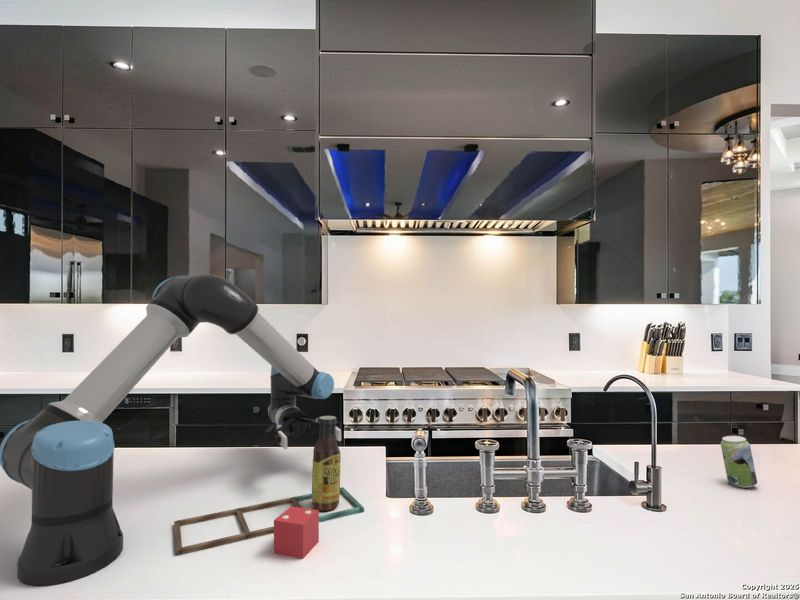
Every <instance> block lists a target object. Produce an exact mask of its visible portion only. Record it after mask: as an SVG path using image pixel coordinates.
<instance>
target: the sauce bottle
mask: <svg viewBox="0 0 800 600" xmlns="http://www.w3.org/2000/svg"><path fill="white" fill-rule="evenodd" d="M318 417H319V425H320V427H319V432H318V439H317V441H316V443H315V444H314V447H313V456H312V471H311V472H312V474H311V475H312V476H311V493H312V499H311V501H312V502H311V507H312V509H314V510H319V512H321V511H323V512H325V511H331V510H335V508H337V507H338V506H339V504H340V498H341V497H340V495H341V493H340V488H341V458H342V457H341V451H340V447H339V444H338V441H337V439H336V423H337V422H338V419H337V417H336V416H334V415H322V416H318Z"/></svg>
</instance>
